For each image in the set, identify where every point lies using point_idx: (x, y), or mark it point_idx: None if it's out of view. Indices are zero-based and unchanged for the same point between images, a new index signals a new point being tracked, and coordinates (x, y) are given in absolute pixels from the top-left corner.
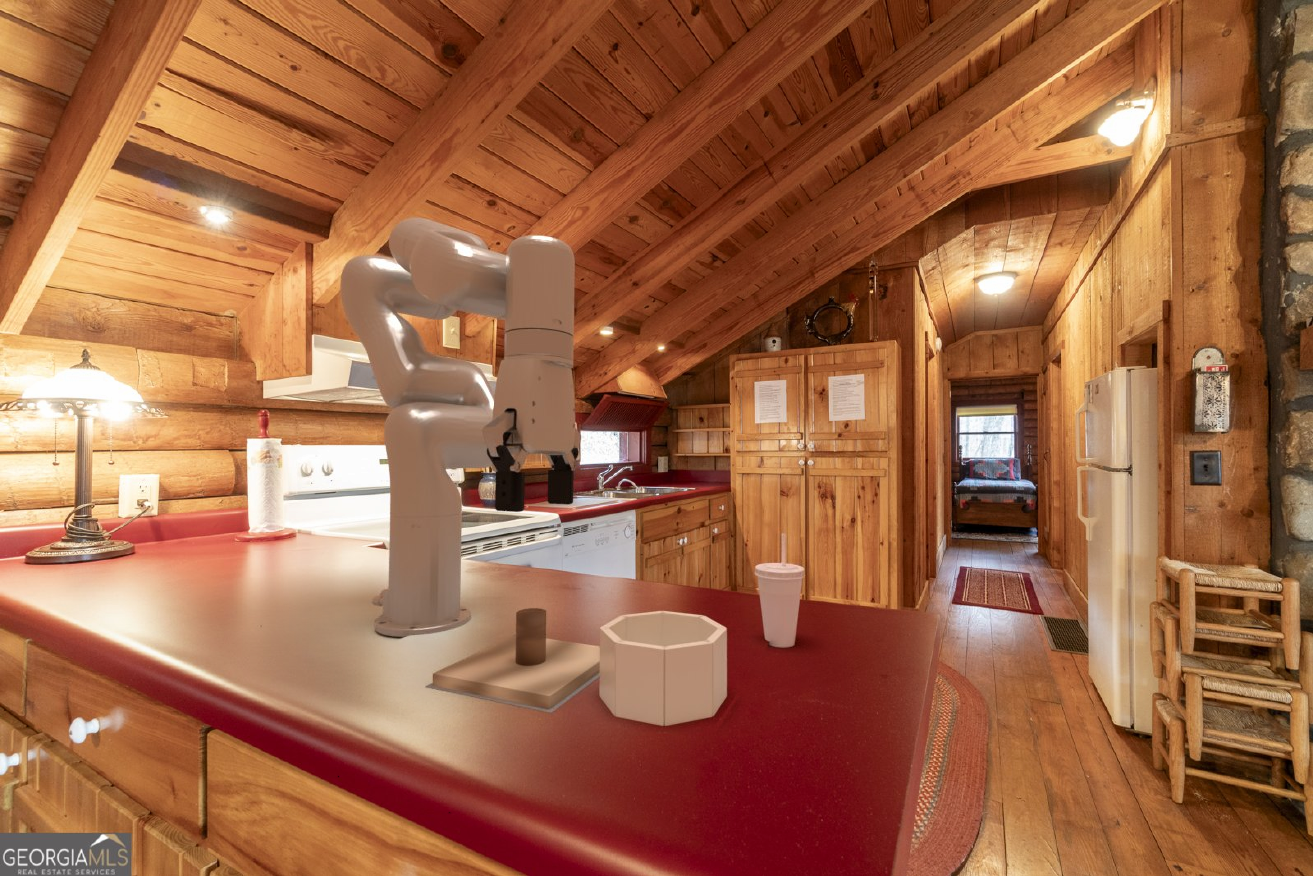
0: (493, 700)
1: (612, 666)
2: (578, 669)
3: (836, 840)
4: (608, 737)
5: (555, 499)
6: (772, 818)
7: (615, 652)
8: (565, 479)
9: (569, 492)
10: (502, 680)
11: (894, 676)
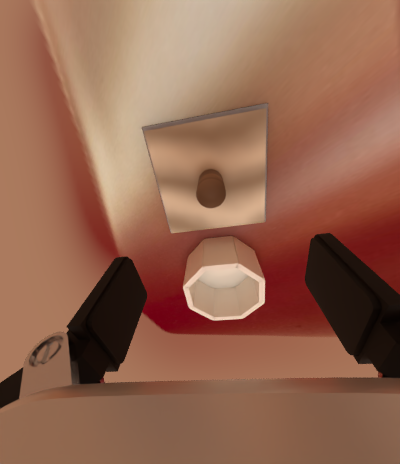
0: (160, 194)
1: (187, 272)
2: (214, 222)
3: (167, 326)
4: (174, 261)
5: (312, 259)
6: (166, 315)
7: (184, 281)
8: (338, 324)
9: (317, 301)
10: (169, 192)
11: (299, 329)
